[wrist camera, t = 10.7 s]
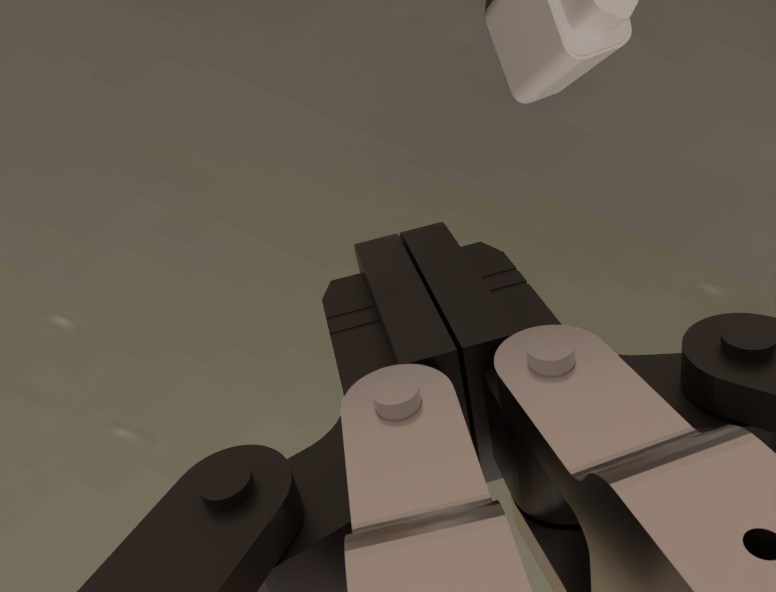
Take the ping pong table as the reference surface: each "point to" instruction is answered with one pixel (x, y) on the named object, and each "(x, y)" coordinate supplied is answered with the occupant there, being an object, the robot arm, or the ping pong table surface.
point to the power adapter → (554, 40)
